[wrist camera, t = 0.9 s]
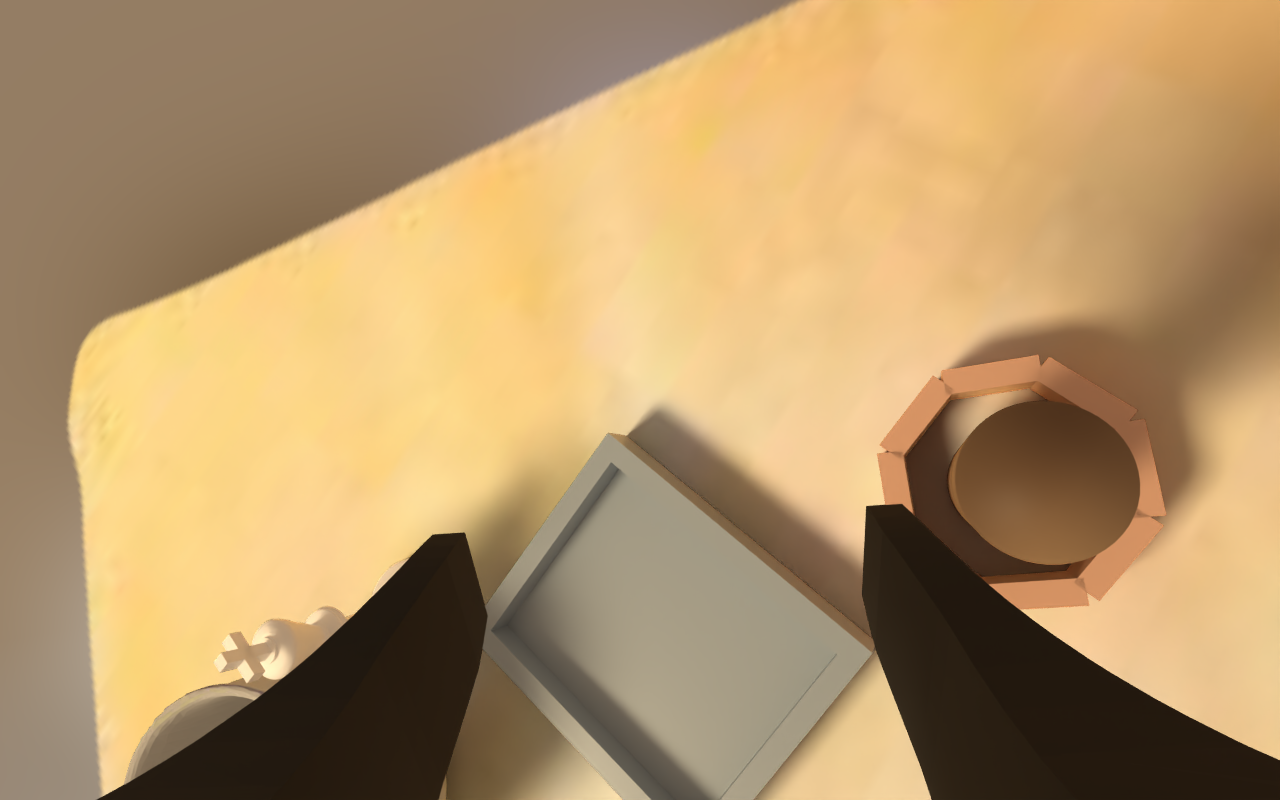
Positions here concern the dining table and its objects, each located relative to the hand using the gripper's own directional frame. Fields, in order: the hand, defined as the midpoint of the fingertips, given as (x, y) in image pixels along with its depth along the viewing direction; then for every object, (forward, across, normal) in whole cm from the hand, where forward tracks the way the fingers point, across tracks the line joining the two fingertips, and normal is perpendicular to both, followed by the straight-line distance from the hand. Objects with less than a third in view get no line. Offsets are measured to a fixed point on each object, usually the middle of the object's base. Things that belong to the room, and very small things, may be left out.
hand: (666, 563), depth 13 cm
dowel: (+10, -11, +6) cm, 16 cm away
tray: (+10, +1, +12) cm, 16 cm away
